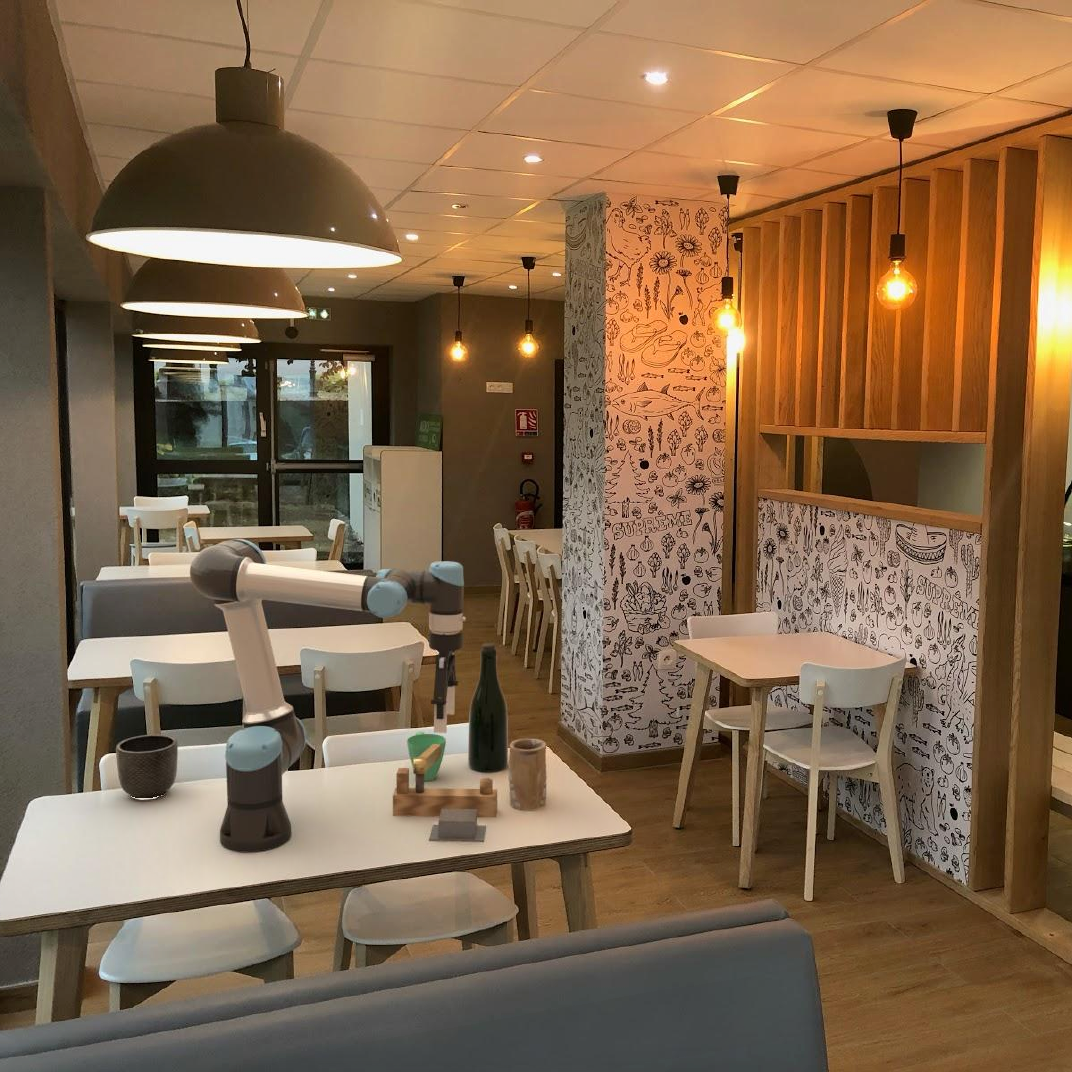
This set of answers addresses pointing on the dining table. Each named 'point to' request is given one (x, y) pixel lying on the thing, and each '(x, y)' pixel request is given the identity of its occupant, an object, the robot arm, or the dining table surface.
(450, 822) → the grey stone cube
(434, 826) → the mat
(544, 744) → the mug
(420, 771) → the lever
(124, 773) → the planter
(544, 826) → the dining table surface
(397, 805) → the body
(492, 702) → the green wine bottle
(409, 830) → the dining table surface
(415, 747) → the mug
